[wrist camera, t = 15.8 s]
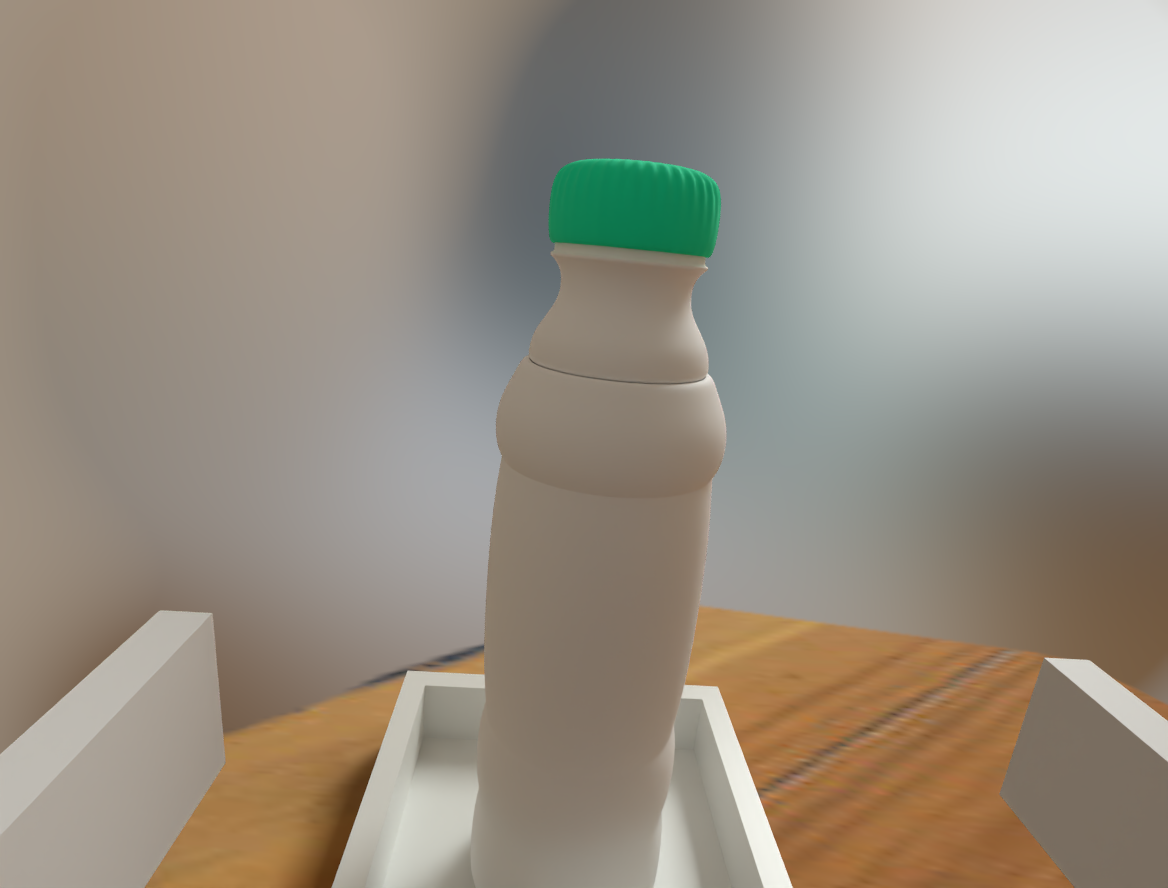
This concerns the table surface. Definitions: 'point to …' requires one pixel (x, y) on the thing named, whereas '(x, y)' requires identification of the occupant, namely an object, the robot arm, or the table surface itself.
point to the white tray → (450, 785)
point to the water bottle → (598, 537)
